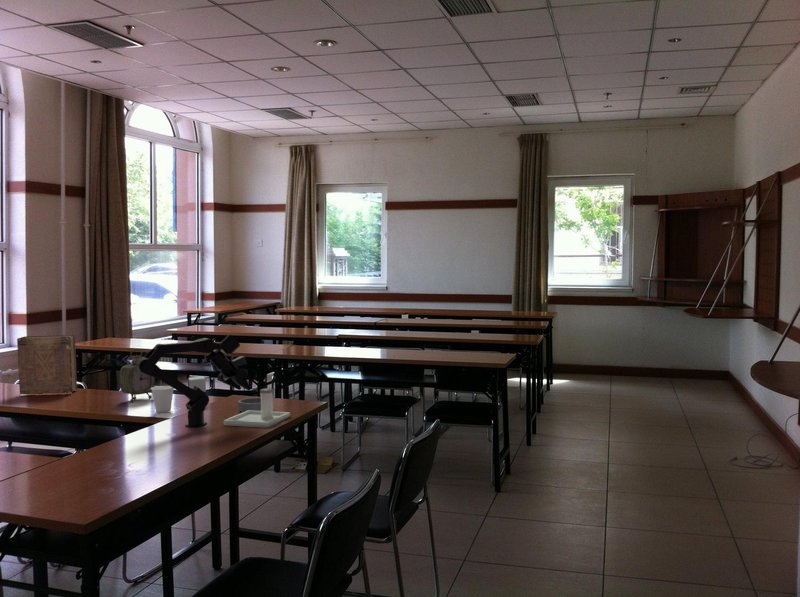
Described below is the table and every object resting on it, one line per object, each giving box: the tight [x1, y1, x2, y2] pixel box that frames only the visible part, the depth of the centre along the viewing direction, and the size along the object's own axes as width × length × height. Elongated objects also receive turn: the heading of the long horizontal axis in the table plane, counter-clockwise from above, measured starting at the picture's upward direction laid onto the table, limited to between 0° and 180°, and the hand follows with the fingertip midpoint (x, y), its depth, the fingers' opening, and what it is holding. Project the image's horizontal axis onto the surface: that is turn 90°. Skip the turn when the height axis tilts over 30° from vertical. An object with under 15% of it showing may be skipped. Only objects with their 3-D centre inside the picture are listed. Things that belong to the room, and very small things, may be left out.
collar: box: [238, 397, 261, 413], centre depth 316 cm, size 14×14×4 cm
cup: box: [151, 385, 174, 414], centre depth 313 cm, size 10×10×11 cm
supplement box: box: [188, 376, 207, 392], centre depth 329 cm, size 7×7×13 cm
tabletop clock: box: [119, 348, 156, 403], centre depth 342 cm, size 14×9×25 cm, turn 150°
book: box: [16, 334, 78, 395], centre depth 363 cm, size 25×9×30 cm, turn 100°
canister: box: [259, 388, 274, 419], centre depth 293 cm, size 5×5×12 cm
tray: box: [223, 410, 291, 429], centre depth 292 cm, size 20×20×2 cm
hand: (245, 389), depth 296 cm, fingers open, 9 cm apart
